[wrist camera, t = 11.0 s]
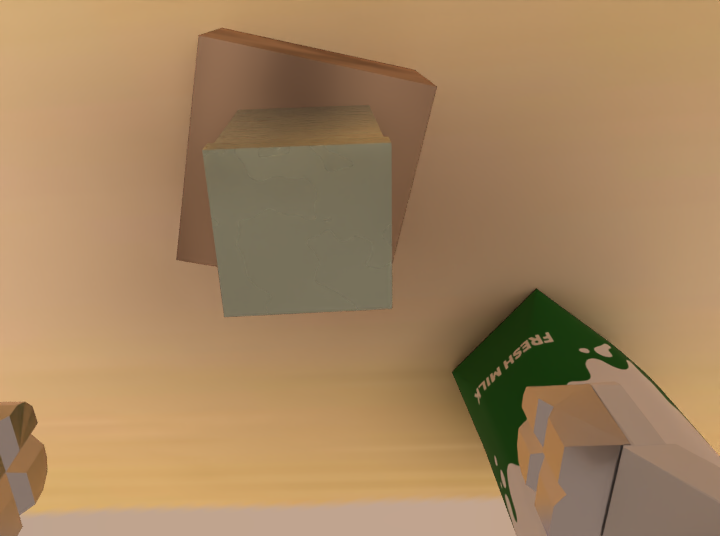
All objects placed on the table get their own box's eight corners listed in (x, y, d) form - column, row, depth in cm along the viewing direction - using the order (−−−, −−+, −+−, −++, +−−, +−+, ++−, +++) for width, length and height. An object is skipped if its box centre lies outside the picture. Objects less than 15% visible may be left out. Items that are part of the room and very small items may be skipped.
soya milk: (533, 445, 38) (729, 854, 20) (427, 372, 35) (544, 769, 17) (639, 350, 36) (973, 718, 18) (535, 264, 33) (802, 594, 15)
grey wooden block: (371, 102, 23) (391, 142, 17) (373, 229, 25) (392, 308, 19) (235, 107, 23) (202, 149, 17) (248, 235, 25) (224, 317, 19)
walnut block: (414, 69, 29) (437, 86, 23) (373, 243, 32) (384, 293, 27) (222, 27, 27) (199, 35, 22) (201, 213, 31) (176, 259, 25)
